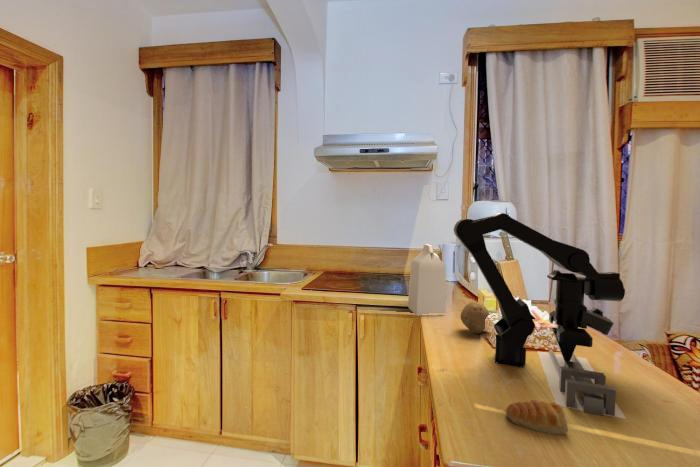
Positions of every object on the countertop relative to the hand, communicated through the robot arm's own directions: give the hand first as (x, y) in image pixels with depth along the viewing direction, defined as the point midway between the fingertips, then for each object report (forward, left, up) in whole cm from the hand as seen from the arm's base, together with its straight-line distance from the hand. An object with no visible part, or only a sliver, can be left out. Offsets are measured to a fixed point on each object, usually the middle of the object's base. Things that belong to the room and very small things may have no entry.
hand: (566, 361), depth 83 cm
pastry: (-9, -28, -2) cm, 30 cm away
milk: (-40, +36, -2) cm, 54 cm away
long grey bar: (0, -14, -1) cm, 14 cm away
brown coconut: (-22, +17, -2) cm, 28 cm away
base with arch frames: (0, -7, -2) cm, 7 cm away
